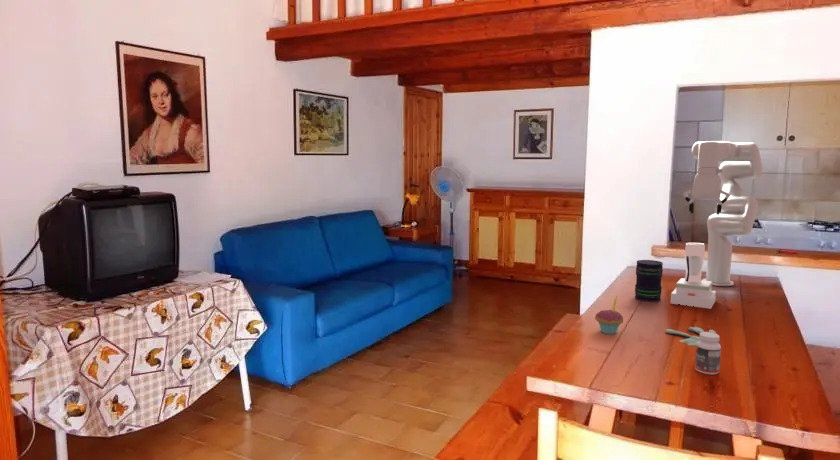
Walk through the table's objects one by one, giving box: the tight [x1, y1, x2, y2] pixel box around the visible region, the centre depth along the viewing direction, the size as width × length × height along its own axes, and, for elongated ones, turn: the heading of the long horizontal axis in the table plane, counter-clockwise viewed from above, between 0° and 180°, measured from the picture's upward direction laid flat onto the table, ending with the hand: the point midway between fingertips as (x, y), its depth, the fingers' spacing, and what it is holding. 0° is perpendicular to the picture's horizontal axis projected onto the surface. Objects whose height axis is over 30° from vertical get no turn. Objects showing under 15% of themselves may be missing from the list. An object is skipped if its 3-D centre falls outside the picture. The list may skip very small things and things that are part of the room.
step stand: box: [670, 277, 717, 310], centre depth 218 cm, size 14×14×8 cm
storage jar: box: [634, 259, 664, 303], centre depth 223 cm, size 10×10×15 cm
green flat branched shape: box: [665, 326, 721, 347], centre depth 178 cm, size 20×22×2 cm
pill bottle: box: [694, 331, 722, 376], centre depth 147 cm, size 6×6×10 cm
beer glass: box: [684, 242, 706, 283], centre depth 217 cm, size 7×7×15 cm
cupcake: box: [594, 295, 624, 335], centre depth 180 cm, size 9×8×12 cm
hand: (704, 213), depth 229 cm, fingers open, 9 cm apart
